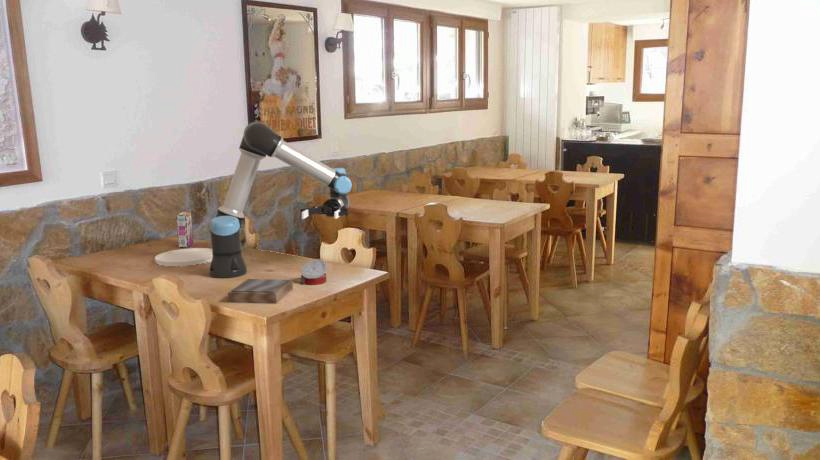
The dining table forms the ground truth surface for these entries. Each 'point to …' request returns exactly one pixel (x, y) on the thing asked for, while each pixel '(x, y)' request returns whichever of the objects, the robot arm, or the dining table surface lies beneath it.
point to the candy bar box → (184, 229)
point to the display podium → (260, 291)
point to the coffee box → (243, 235)
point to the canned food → (314, 273)
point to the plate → (184, 257)
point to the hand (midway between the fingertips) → (318, 215)
